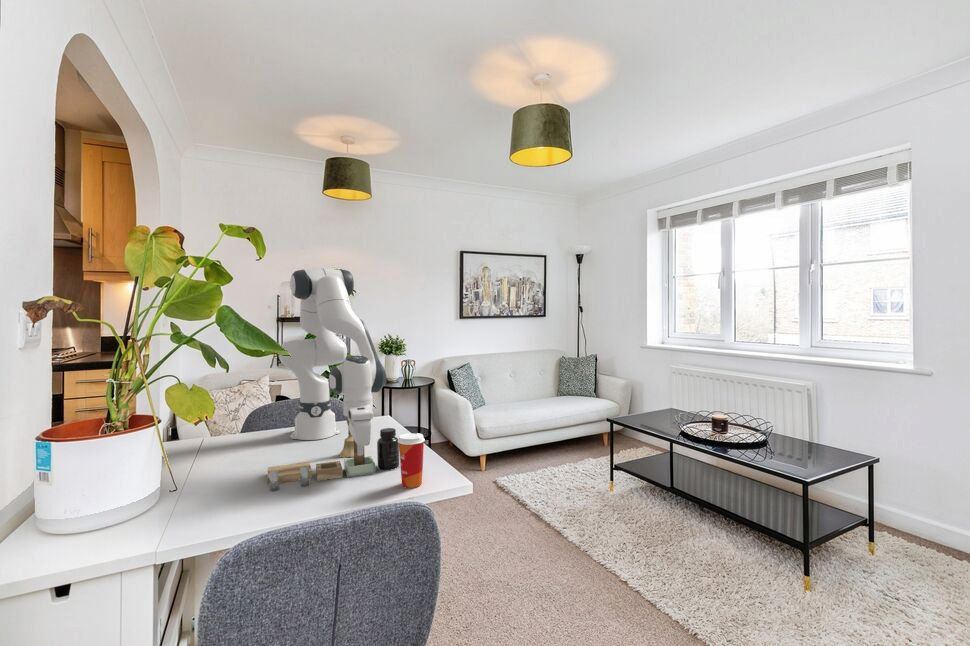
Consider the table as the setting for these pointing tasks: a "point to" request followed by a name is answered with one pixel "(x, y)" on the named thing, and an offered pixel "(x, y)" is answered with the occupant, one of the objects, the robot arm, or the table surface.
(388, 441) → the supplement bottle
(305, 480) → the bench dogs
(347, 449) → the hand bell
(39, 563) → the table surface
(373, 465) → the tray
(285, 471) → the curved tan panel
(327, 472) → the socket block
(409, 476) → the paper cup
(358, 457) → the dowel
